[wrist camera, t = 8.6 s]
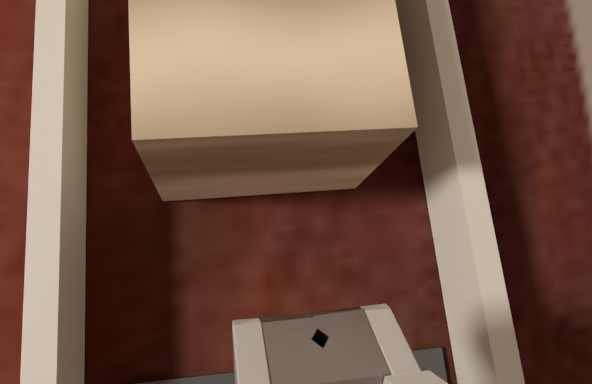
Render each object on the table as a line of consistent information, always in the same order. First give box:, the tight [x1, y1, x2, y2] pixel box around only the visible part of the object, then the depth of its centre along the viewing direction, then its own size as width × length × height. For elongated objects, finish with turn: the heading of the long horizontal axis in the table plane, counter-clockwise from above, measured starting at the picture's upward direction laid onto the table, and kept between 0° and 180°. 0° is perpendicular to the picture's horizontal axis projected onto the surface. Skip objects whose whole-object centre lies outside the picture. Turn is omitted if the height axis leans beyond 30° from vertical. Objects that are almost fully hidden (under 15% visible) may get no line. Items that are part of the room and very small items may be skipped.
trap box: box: [20, 0, 525, 384], centre depth 18 cm, size 23×16×4 cm
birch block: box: [128, 0, 418, 201], centre depth 18 cm, size 12×8×7 cm, turn 6°
